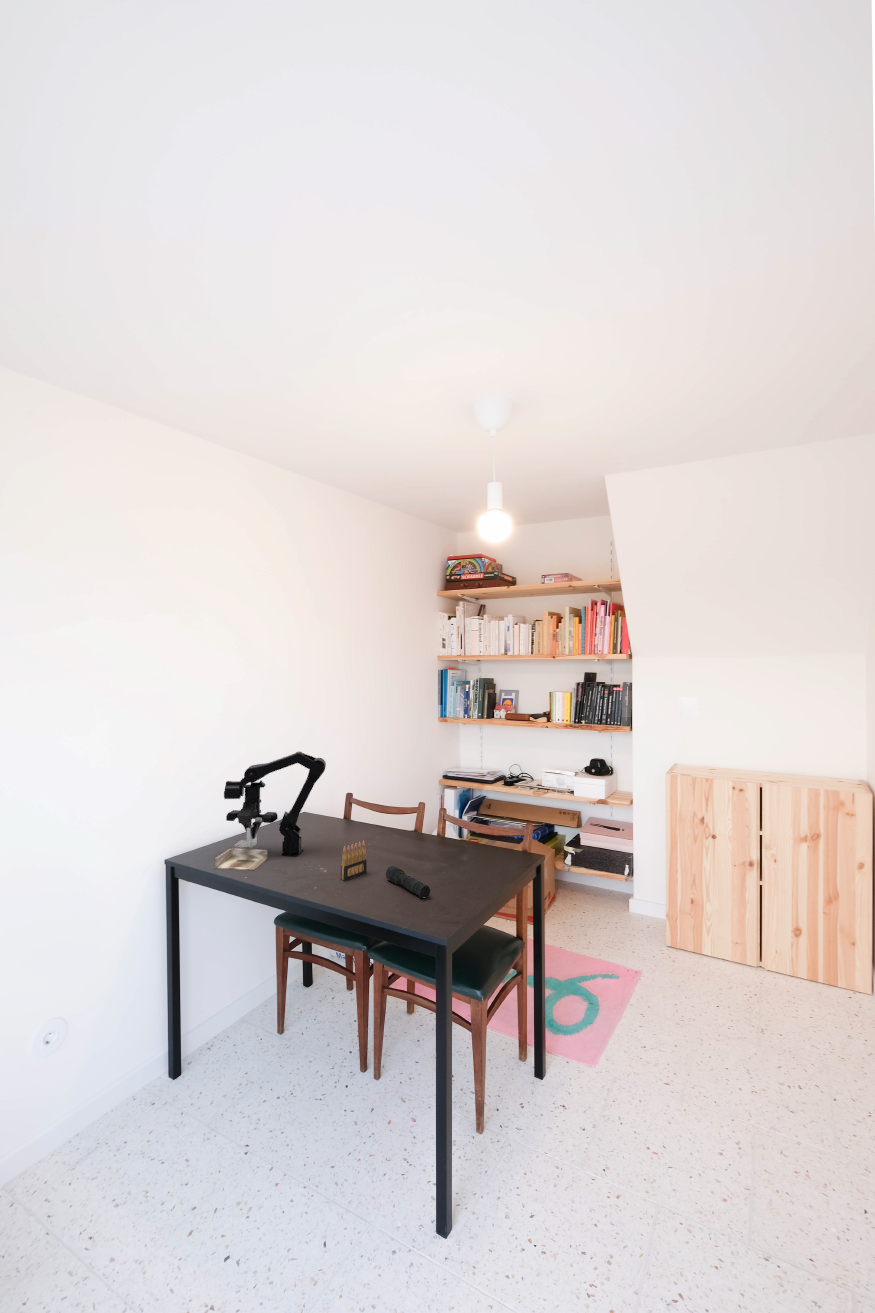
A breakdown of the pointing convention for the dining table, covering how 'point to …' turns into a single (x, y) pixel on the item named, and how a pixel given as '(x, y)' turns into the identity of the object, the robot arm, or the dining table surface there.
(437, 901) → the dining table surface
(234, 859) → the tray
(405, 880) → the flashlight
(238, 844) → the bracket
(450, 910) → the dining table surface
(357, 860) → the ammunition clip
